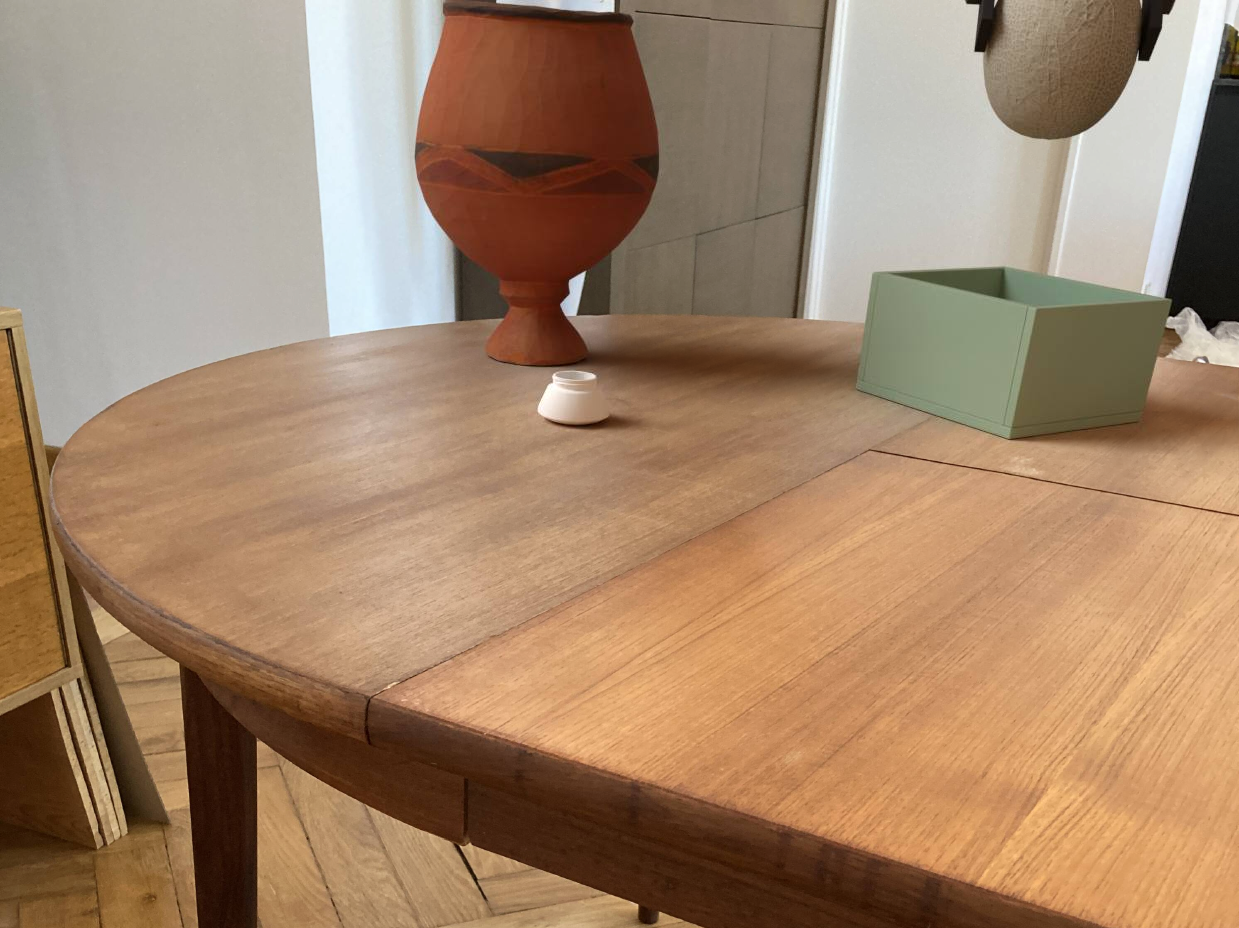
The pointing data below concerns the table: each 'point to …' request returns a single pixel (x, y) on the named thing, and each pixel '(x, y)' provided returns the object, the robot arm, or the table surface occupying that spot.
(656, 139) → the goblet
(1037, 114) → the fruit
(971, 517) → the table surface
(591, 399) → the white jar
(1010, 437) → the bin
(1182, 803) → the table surface
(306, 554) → the table surface
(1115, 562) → the table surface
